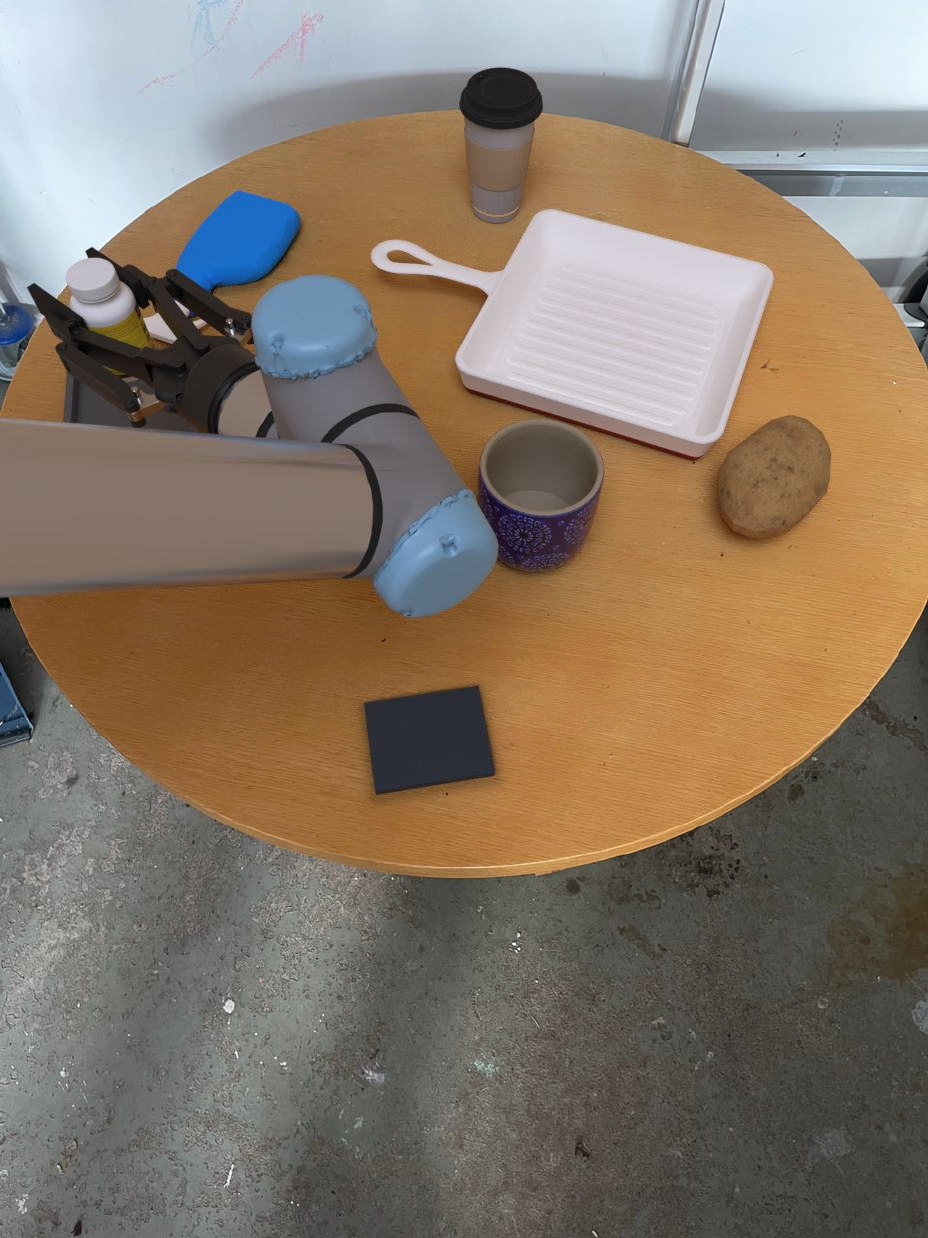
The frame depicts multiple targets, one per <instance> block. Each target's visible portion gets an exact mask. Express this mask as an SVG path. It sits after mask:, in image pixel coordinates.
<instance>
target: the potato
mask: <svg viewBox="0 0 928 1238" xmlns="http://www.w3.org/2000/svg"><path fill="white" fill-rule="evenodd" d="M831 451H832V450H831V448H830V445H829V442H828V440H827V439H826V437H825V435H824V433H823V431H822V430H820V429H819V428H818V427H817V426H816V425H815V424H813V423H812V421H809V419H807V418H805V417H801V416H798V415H794V414H788V415H784V416H780V417H777V418H773V419H771V420H769V421H768V422H767V423H765V424H763V425H762V426H761V427H759V428H758V429H757V430H755V431H754V432H752V433H751V434H750V435H748V436H747V437H746V438H745V439H744V440H742V441H741V442H740V443H739V444H737V445H736V446H735V447H734V448H732V449H731V450H730V451H728V453H727V455H726V457H725V458H724V460H723V462H722V463H721V466H720V467H719V469H718V498H719V508H720V513H721V516H722V520H724V522H725V523H726V524H727V525H728V527H730V529H731V530H732V531H733V532H735V533H738V534H740V535H743V536H745V537H748V538H751V539H769V538H775V537H778V536H780V535H782V534H785V533H788V532H790V531H791V530H792V529H794V528H795V527H796V526H798V525H800V523H801V522H802V521H803V520H804V519H805V518H806V517H807V516H808V515H809V514H810V513H811V511H812V510H813V509H814V508H815V507H816V506H817V504H818V503H819V502H820V501H821V499H823V498H824V497H825V495H826V494H827V493H828V491H829V484H830V480H831V479H830V478H831V461H832V452H831Z"/></svg>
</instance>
